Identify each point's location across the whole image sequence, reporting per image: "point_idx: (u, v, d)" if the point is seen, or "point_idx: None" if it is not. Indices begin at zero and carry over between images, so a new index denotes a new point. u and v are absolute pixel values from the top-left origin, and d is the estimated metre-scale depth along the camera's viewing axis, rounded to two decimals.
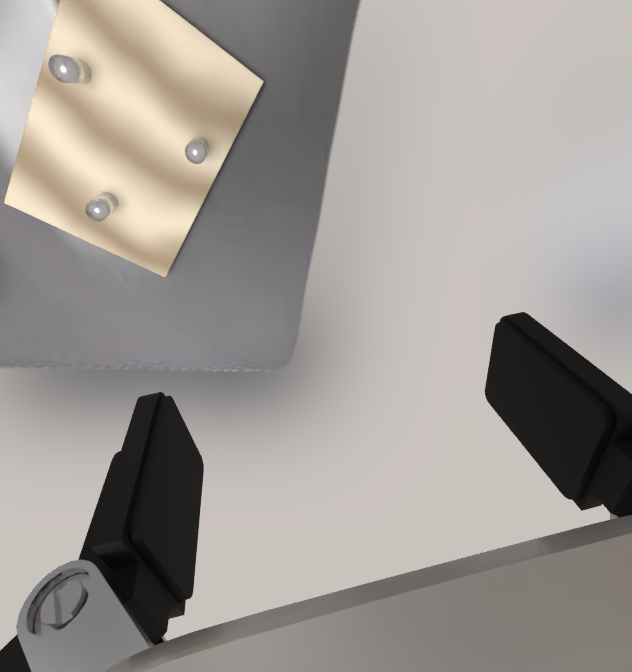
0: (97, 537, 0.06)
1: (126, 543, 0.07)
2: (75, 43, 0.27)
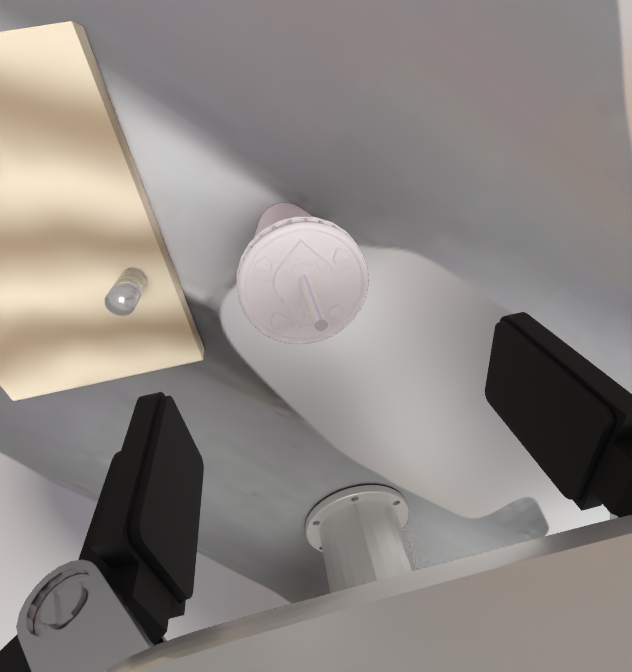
0: (97, 537, 0.06)
1: (126, 543, 0.07)
2: (154, 297, 0.25)
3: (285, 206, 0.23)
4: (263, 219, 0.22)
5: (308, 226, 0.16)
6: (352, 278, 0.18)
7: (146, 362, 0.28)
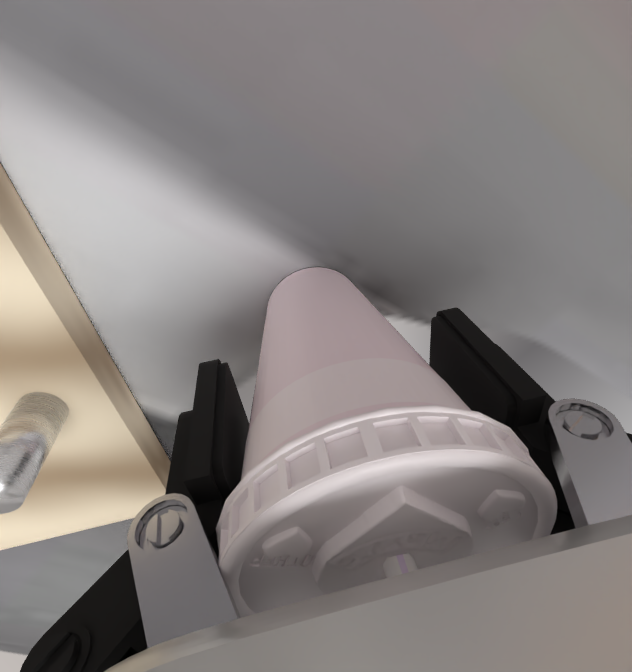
0: (188, 473, 0.07)
1: (212, 480, 0.07)
2: (84, 432, 0.14)
3: (321, 285, 0.12)
4: (280, 317, 0.11)
5: (431, 457, 0.05)
6: (513, 534, 0.07)
7: (82, 518, 0.17)
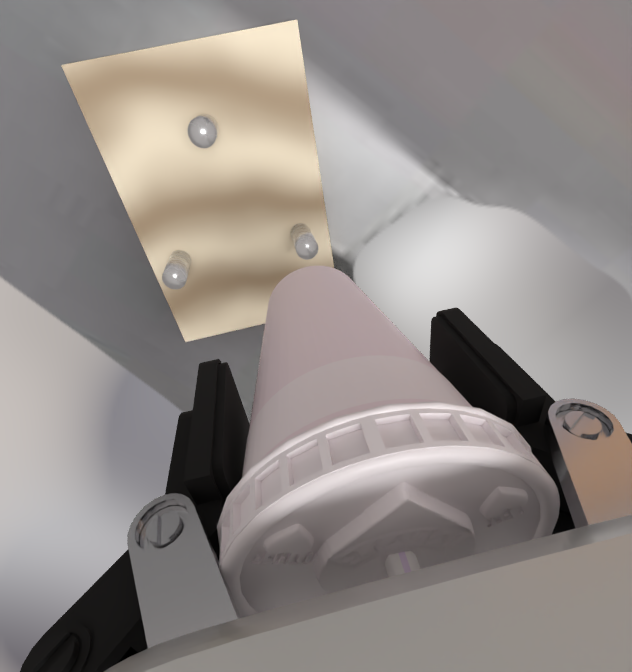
0: (188, 473, 0.07)
1: (212, 480, 0.07)
2: None
3: (322, 283, 0.12)
4: (280, 315, 0.11)
5: (434, 453, 0.05)
6: (515, 532, 0.07)
7: None
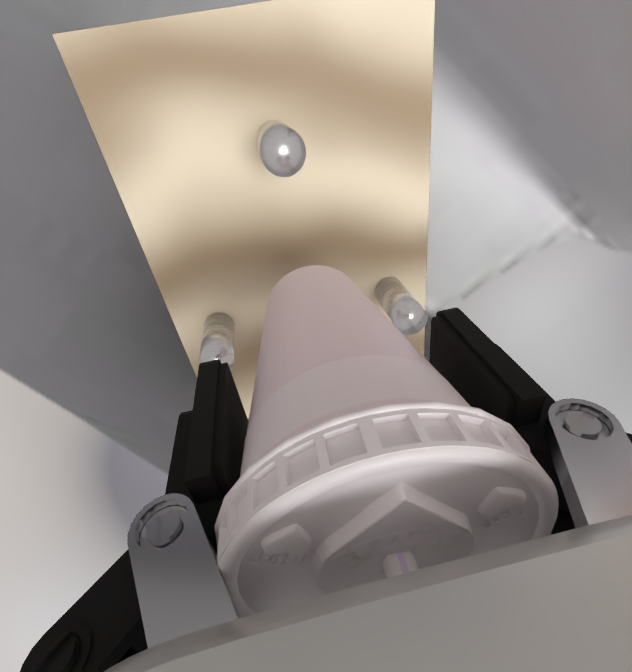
0: (188, 473, 0.07)
1: (212, 480, 0.07)
2: None
3: (321, 283, 0.12)
4: (279, 314, 0.11)
5: (432, 453, 0.05)
6: (514, 532, 0.07)
7: None
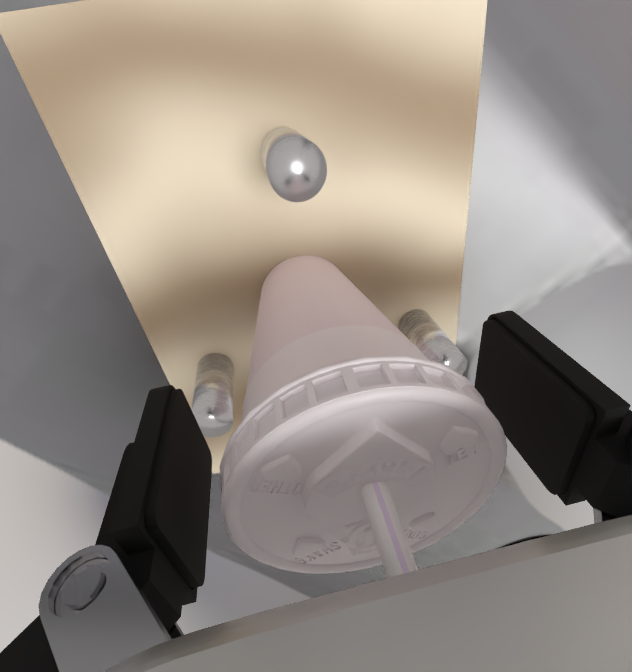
0: (115, 523, 0.07)
1: (143, 529, 0.07)
2: None
3: (311, 269, 0.13)
4: (273, 297, 0.12)
5: (399, 393, 0.07)
6: (471, 471, 0.08)
7: None
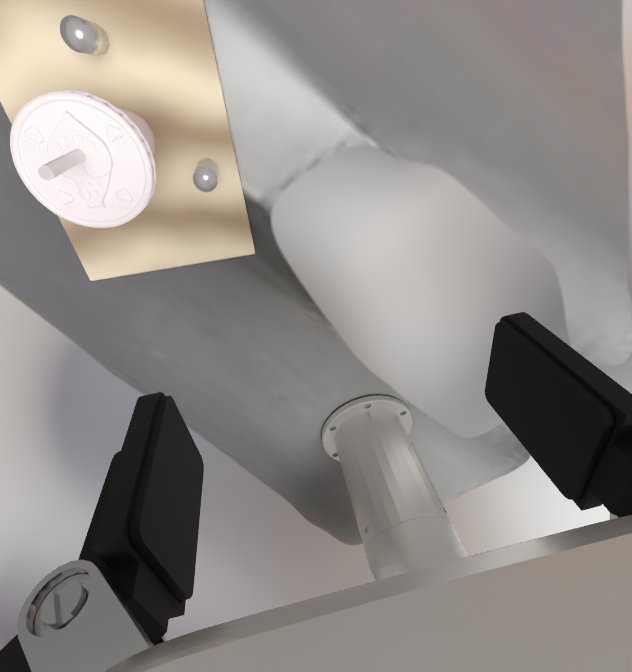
0: (97, 537, 0.06)
1: (126, 543, 0.07)
2: (222, 188, 0.29)
3: None
4: None
5: (71, 96, 0.17)
6: (133, 160, 0.19)
7: (207, 252, 0.32)
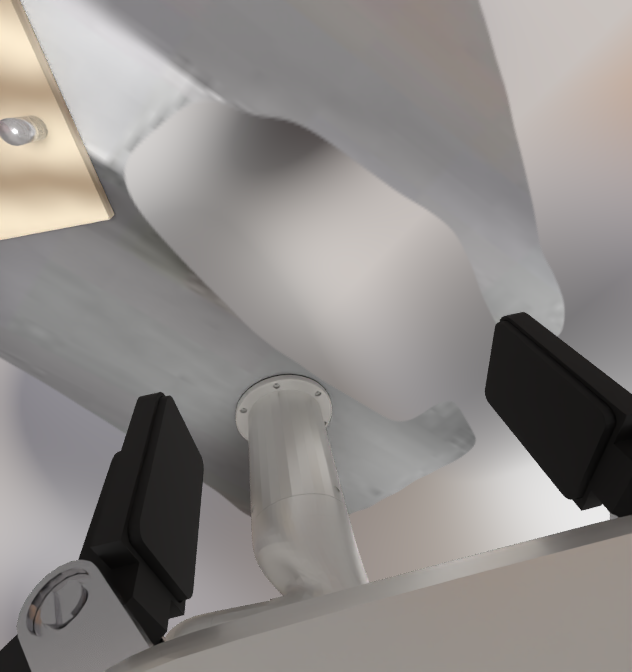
0: (97, 537, 0.06)
1: (126, 543, 0.07)
2: (55, 148, 0.29)
3: None
4: None
5: None
6: None
7: (57, 218, 0.31)
